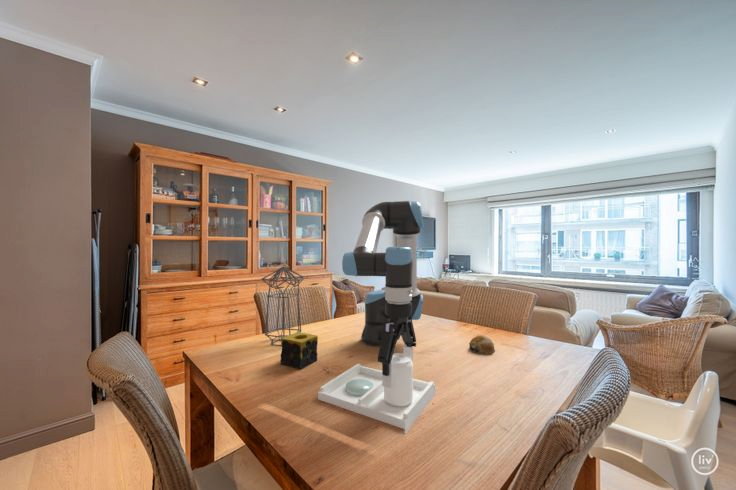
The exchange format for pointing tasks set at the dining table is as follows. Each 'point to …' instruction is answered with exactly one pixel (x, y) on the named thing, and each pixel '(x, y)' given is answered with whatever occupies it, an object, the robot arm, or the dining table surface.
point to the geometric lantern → (286, 270)
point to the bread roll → (482, 345)
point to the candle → (299, 350)
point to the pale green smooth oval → (358, 387)
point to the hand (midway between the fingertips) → (398, 376)
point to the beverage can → (400, 381)
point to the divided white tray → (376, 397)
